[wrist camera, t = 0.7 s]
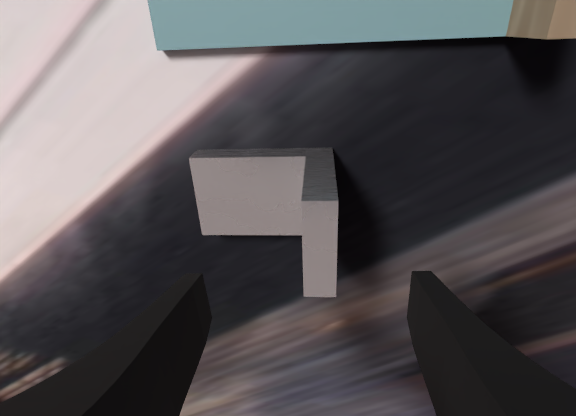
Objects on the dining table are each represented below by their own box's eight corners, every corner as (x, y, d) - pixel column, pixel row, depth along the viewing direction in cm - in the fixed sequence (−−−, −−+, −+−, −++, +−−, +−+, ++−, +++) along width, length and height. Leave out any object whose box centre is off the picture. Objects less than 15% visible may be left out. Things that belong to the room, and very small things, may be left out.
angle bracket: (332, 147, 21) (338, 200, 15) (331, 223, 23) (336, 297, 17) (197, 149, 21) (147, 201, 15) (208, 223, 24) (170, 294, 17)
